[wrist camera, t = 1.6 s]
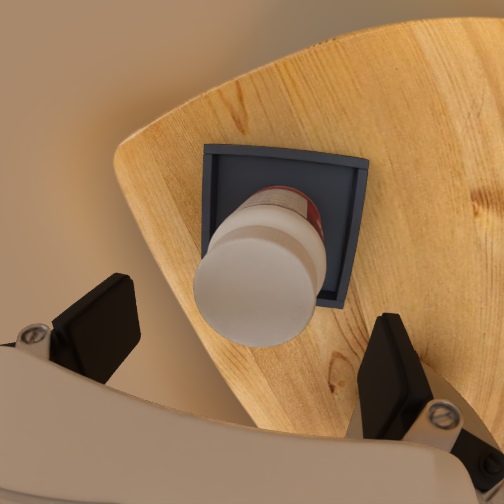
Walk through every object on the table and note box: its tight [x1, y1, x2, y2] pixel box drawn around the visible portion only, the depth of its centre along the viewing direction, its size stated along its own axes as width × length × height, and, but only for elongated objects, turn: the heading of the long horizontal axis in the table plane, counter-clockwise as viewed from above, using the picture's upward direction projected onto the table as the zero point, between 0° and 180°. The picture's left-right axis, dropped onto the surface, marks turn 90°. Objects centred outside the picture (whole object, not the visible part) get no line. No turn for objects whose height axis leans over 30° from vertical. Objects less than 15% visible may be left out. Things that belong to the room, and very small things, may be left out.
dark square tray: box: [201, 144, 369, 309], centre depth 22 cm, size 11×11×2 cm
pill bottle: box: [193, 186, 326, 348], centre depth 17 cm, size 6×6×11 cm
